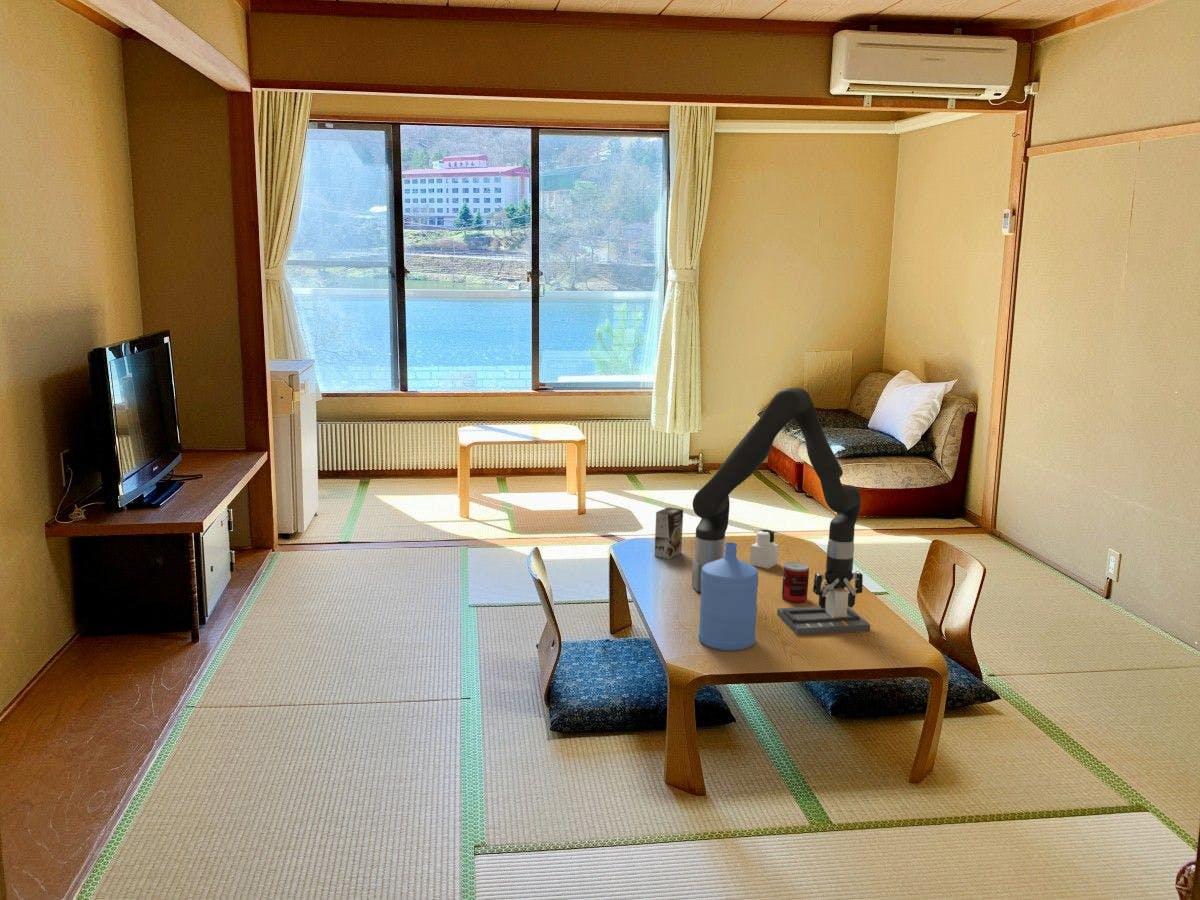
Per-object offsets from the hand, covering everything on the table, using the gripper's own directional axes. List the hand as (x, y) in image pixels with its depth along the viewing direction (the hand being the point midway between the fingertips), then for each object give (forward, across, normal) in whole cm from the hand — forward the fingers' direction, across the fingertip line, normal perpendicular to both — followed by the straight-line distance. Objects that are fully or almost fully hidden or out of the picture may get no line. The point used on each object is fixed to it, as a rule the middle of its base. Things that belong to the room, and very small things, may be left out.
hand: (836, 607), depth 294 cm
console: (+5, -4, 0) cm, 6 cm away
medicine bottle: (+5, -3, +54) cm, 54 cm away
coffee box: (+5, -33, +69) cm, 77 cm away
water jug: (+5, -36, -9) cm, 37 cm away
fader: (+2, 0, 0) cm, 2 cm away
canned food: (+5, -5, +20) cm, 21 cm away
